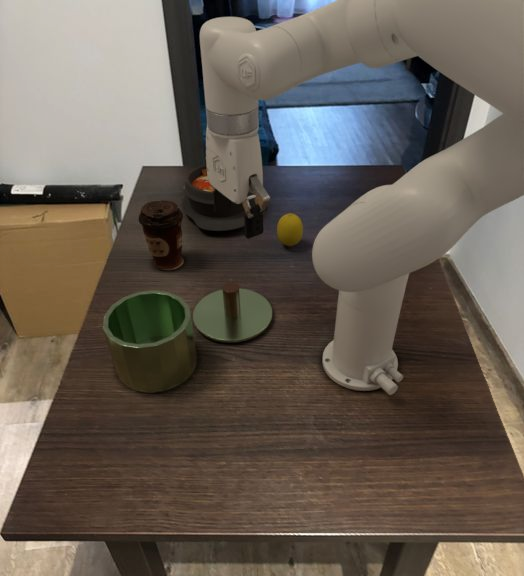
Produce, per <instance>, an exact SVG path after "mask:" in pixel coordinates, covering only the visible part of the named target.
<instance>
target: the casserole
mask: <svg viewBox="0 0 524 576" xmlns="http://www.w3.org/2000/svg"><path fill="white" fill-rule="evenodd" d="M182 191H183V193H184V195H185V196H184V197H183V199H182V201H181V209H182V212H183V213H184V214H185V215H187V216H188V217H189V218H190V219H192V220H193V221H194V223H195V225H196V226H197V227H198V228H199V229H202V230H205V231H210V232H211V231H213V232H223V231H233V230H236V229H240V228H243V227H245V223H244V216H246V215H247V214H246V212H245V209H244V207H243V204H242V202H241V203H240V204H236V203H234V202H232V208H231V209H228V210H225V211H222V212H219V213H216V212H215V210H214V199H213V191H214V190H213V189H212V188H211V184H210V183H209V181H208V177H207V164H203V165H200V166H197V167H196V168H194V169H192V170H191V171H190V172H189V173H188V174H187V175H186V178H185V181H184V183H183V185H182ZM249 195H252V193H251V192H248V194H247V196H249ZM248 202H249V204H250V207H251V208H253V207H254V206H255V205H256V203H255V200H254V199H253V200H250V201H248Z"/></svg>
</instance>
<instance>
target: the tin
mask: <svg viewBox="0 0 524 576" xmlns="http://www.w3.org/2000/svg"><path fill="white" fill-rule="evenodd" d="M102 321H103V322H102V323H103V324H102V330H103V333H104V336H105V340H106V343H107V347H108V349H109V352H110V356H111V359H112V362H113V365H114V369H115V372H116V374H117V376H118V378H119V380H120V382H122V384H124V385H125V386H126V387H127V388H129V389H130V390H133V391H136V392H139V393H145V394H156V393H157V394H158V393H163V392H168V391H170V390H172V389H175V388H177V387H179V386H180V385H183V383H185V382H186V381H187V380H188V379H190V377H191V376H192V374H193V373H194V371H195V370H196V367H197V362H198V359H197V358H198V357H197V350H196V341H195V335H194V329H193V328H194V327H193V322H192V321H193V320H192V315H191V308H190V305H188V304H187V303H186V301H185V300H184V298H183V297H181V296H179V295H177V294H175V293H172V292H170V291H166V290H157V289H153V290H152V289H151V290H143V291H136V292H134V293H131V294H129V295H126V296H124V297H122V298H120V299H119V300H118V301H116V302H115V303H113V304H112V305H110V306H109V309H107V311H106V313H105V315H103V320H102Z"/></svg>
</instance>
